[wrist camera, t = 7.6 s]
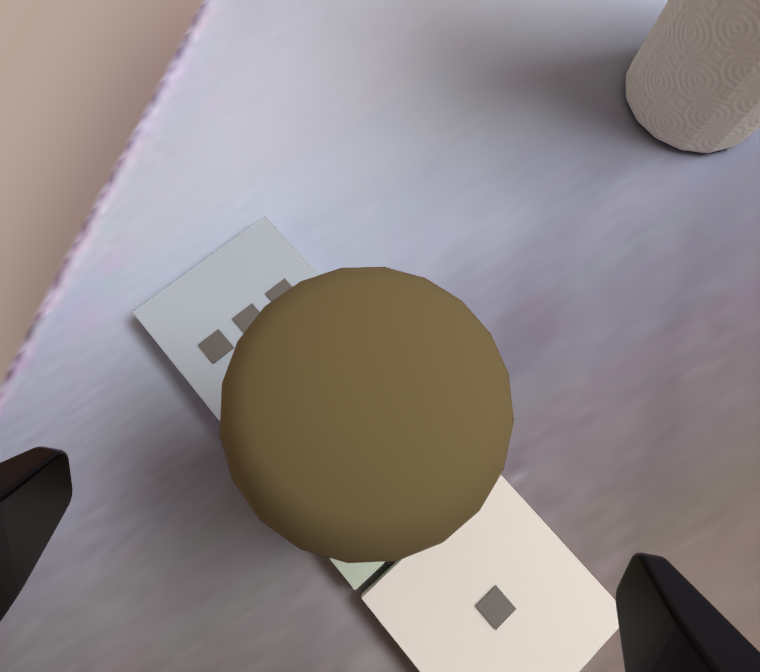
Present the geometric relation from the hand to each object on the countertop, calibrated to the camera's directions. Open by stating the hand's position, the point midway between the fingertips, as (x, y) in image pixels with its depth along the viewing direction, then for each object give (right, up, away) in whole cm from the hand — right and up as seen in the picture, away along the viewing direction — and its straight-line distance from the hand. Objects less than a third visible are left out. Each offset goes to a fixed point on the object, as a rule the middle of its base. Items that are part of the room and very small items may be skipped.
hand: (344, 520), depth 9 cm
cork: (0, -1, +10) cm, 11 cm away
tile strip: (0, -1, +11) cm, 11 cm away
